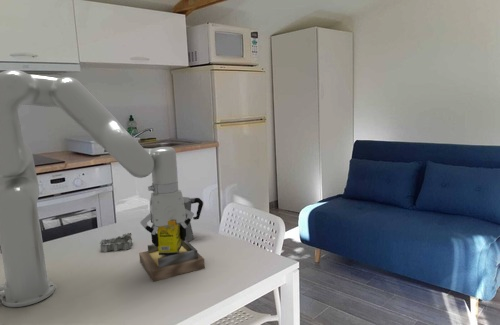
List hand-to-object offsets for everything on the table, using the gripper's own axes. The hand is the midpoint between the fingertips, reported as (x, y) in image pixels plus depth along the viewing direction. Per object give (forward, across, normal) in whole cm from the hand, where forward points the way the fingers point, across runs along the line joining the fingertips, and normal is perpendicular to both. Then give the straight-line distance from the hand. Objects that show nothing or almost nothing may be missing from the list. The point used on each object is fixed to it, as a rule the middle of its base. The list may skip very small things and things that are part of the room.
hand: (169, 242), depth 117 cm
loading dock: (+8, 0, 0) cm, 8 cm away
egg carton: (+8, -12, +25) cm, 29 cm away
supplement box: (+3, 0, 0) cm, 3 cm away
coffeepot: (+8, +11, +19) cm, 23 cm away
